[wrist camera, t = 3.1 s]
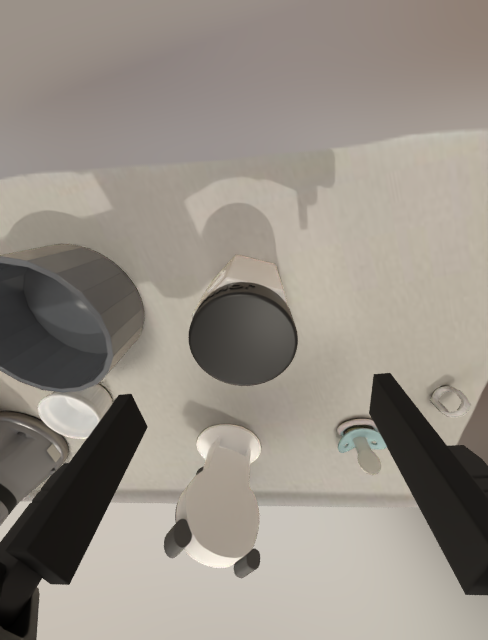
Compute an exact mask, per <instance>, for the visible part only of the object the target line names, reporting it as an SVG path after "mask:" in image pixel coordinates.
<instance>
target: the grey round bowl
mask: <svg viewBox="0 0 488 640" xmlns="http://www.w3.org/2000/svg"><path fill="white" fill-rule="evenodd" d="M143 325H144V309H143V304H142V301H141V298H140V295H139V293H138V291H137V289H136V287H135V286H134V284H133V283H132V281H131V280H130V279H129V277H128V276H127V275H126V274H125V273H124V272H123V271H122V269H120V268H119V267H118V266H117V265H116V264H115V263H114V262H112V261H111V260H109V259H108V258H107V257H105V256H103V255H101V254H100V253H98V252H96V251H93V250H91V249H88V248H85V247H82V246H78V245H72V244H56V245H51V246H45V247H40V248H34V249H29V250H24V251H19V252H14V253H9V254H4V255H0V371H2V372H4V373H5V374H7V375H9V376H11V377H12V378H14V379H16V380H18V381H20V382H22V383H25V384H28V385H30V386H33V387H36V388H39V389H42V390H47V391H54V392H61V393H66V392H77V391H83V390H85V389H87V388H90V387H92V386H94V385H97V384H98V383H99V382H100V381H101V380H102V379H103V378H104V377H105V376H106V375H107V374H108V373H109V371H110V370H111V369H112V368H113V367H114V366H115V365H116V363H117V362H118V361H119V360H120V359H121V358H122V357H123V356H124V354H125V353H126V352H127V351H128V350H129V349H130V348H131V346H132V345H133V344H134V343H135V342H136V341H137V340H138V338H139V336H140V334H141V332H142V329H143Z"/></svg>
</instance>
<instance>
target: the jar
mask: <svg viewBox="0 0 488 640" xmlns="http://www.w3.org/2000/svg"><path fill="white" fill-rule="evenodd" d="M192 318H193V319H192V322H191V325H190V329H189V346H190V350H191V353H192V355H193V357H194V359H195V360H196V362H197V363H198V365H199V366H200V367H201V368H202V369H203V370H204V371H205V372H206V373H208V374H209V375H210V376H212V377H214V378H215V379H217V380H220V381H222V382H225V383H228V384H232V385H239V386H250V385H257V384H261V383H265V382H267V381H270V380H272V379H274V378H275V377H277V376H278V375H280V374H281V373H282V372H283V371H284V370H285V369H286V368H287V367H288V366H289V365H290V363H291V362H292V360H293V358H294V356H295V353H296V350H297V344H298V336H297V330H296V327H295V324H294V321H293V317H292V314H291V312H290V309H289V307H288V304H287V300H286V296H285V292H284V289H283V286H282V283H281V279H280V276H279V273H278V270H277V267H276V265H275V264H274V263H270V262H265V261H261V260H257V259H253V258H249V257H245V256H241V255H235V256H234V257H233V258H232V259H231V261H230V262H229V263H228V264H227V265H226V266H225V267H224V268H223V269H222V271H221V272H220V273H219V274H218V275H217V276H216V277H215V278H214V279H213V280H212V282H211V283H210V285H209V287H208V288H207V290H206V292H205V293H204V295H203V297H202V298H201V300H200V302H199V304H198V305H197V307H196V309H195V310H194V312H193V314H192Z"/></svg>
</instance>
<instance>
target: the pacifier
mask: <svg viewBox="0 0 488 640" xmlns="http://www.w3.org/2000/svg"><path fill="white" fill-rule="evenodd" d="M359 424H365V425H370V426H372V429H368V428H363V427H355V428H351V429H349V430H348V431H346V433H345V432H344V430H345V429H346V428H348V427H350V426H353V425H359ZM377 431H378V429H377V427H376V425H375V423H374V421H373V420H370V419H354V420H350V421H347V422H345V423H343V424H341V425H340V426H339V427H338V429H337V432H338V434H339V435H341V436H343V437H342V438H341V440H340V441H339V444H338V450H339V452H341V453H344V452H347V451H349V450H351V449H353V448H356V450H357V453H358V463H359V465H360V467H361V468H362V470H363V471H365V472H366V473H367V474H370V475H376V474H378V473H379V472H380V470H381V462H380V459H379V458H378V456H377V455H376V454H375V453H374V452H373V451H372V450H371V449H385V448H386V447H387V446H386V444H385V442H384V440H383V438H382V436H381V435H380V433H379V432H377ZM371 441H375V442H377V443H375V444H374V443H371ZM347 443H348V444H347ZM345 444H347V446H344V445H345Z"/></svg>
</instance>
